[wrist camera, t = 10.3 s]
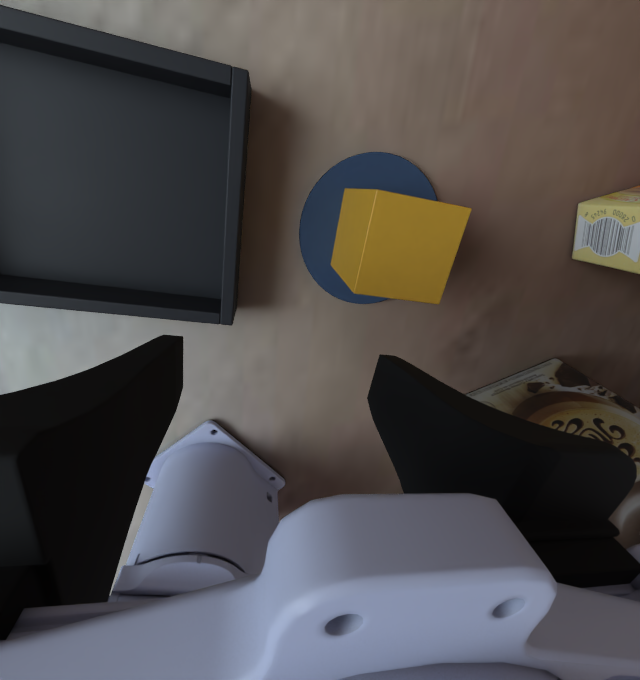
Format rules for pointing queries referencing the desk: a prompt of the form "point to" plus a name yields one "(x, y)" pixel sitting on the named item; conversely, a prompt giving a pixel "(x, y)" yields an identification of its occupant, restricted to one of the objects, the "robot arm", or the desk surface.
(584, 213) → the candy box
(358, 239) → the block
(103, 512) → the robot arm
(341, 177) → the coaster
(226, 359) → the desk surface
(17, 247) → the tray
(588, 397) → the coffee box
